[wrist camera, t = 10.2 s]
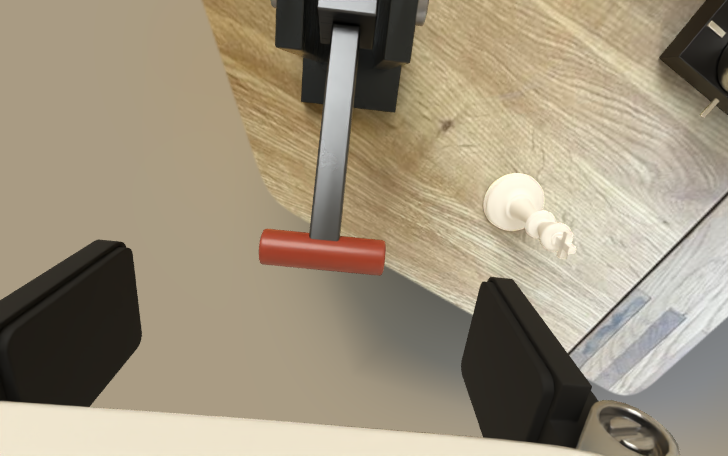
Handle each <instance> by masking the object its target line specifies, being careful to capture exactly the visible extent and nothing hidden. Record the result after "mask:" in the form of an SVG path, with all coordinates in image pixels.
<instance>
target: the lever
mask: <svg viewBox="0 0 728 456" xmlns="http://www.w3.org/2000/svg"><path fill="white" fill-rule="evenodd" d="M378 3H379V0H317V7H316V8H317V17H318V26H319V35H320V42H321V43H322V44H330V47H329V56H328V66H327V75H326V84H325V94H324V103H323V112H322V122H321V131H320V140H319V149H318V159H317V168H316V177H315V187H314V196H313V205H312V215H311V224H310V233H305V232H294V231H284V230H275V229H265V230H264V231H263V233H262V235H261V239H260V244H259V260H260V263H261V264H265V265H275V266H285V267H297V268H307V269H318V270H328V271H338V272H348V273H360V274H369V275H382V273H383V269H384V263H385V252H386V245H385V241H383V240H375V239H365V238H355V237H345V236H340V232H341V222H342V213H343V203H344V193H345V183H346V173H347V163H348V154H349V144H350V134H351V124H352V114H353V104H354V95H355V85H356V75H357V65H358V55H359V48H363V49H372V48H373V42H374V35H375V28H376V21H377V13H378Z"/></svg>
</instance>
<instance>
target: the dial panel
mask: <svg viewBox="0 0 728 456" xmlns="http://www.w3.org/2000/svg"><path fill="white" fill-rule="evenodd" d="M727 45H728V0H706V1H705V2H704V4H703V5H702V6H701V7H700V9H699V10H698V11H697V12H696V13H695V15H694V16H693V17H692V18H691V19H690V21H689V22H688V23H687V24H686V26H685V27H684V28H683V29H682V30H681V32H680V33H679V34H678V35H677V36H676V38H675V39H674V40H673V41H672V43H671V44H670V45H669V46H668V47H667V49H666V50H665V51H664V52H663V54H662V55H661V56H660V57H659V58H660V59H661V60H662V61H663V62H664V63H666V64H667V65H668V66H669V67H670V68H672V69H673V70H674V71H675V72H676V73H678V74H679V75H680V76H681V77H682V78H684V79H685V80H686V81H687V82H689V83H690V84H691V85H692V86H693V87H695V88H696V89H697V90H698V91H699V92H701V93H702V94H703V95H704V96H705V97H707V98H708V99H709V100H710V101H711V103H710V104H709V105H708V106H707V107H706V108H705V110H704V111H703V112H702V113H701V114H700V116H701V117H702V118H705V117H706V116H707V115H708V113H709V112H710V111H711V110H712V109H713V108H714V107H715V106H717V107H719V108H720V109H721V110H722V111H723V112H725V113H726V114H727V115H728V92H727V91H725V90H724V89H723V88H722V86H721V84H720V82H719V79H718V64H719V60H720V57H721V55H722V53H723V51H724V49H725V48H726V46H727Z"/></svg>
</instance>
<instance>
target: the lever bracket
mask: <svg viewBox="0 0 728 456" xmlns="http://www.w3.org/2000/svg"><path fill="white" fill-rule="evenodd" d="M271 4H272V6H273V7H274V8H276V33H275V46H276V47H277V48H280V49H282V50H285V51H288V52H291V53H293V54H296V55H299V56H302V57H303V73H302V93H301V102H308V103H317V104H323V103H324V94H325V84H326V75H327V66H328V56H329V47H330V44H322V43H321V42H320V35H319V26H318V17H317V8H316V7H317V0H271ZM428 4H429V0H379V3H378V13H377V21H376V28H375V35H374V42H373V48H372V49H363V48H359V55H358V65H357V75H356V85H355V95H354V104H353V108H361V109H369V110H378V111H387V112H395V110H396V102H397V95H398V87H399V79H400V72H401V65H405V64H408V63H410V60H411V53H412V46H413V39H414V32H415V25H416V26H423V24H424V22H425V19H426V15H427V10H428Z"/></svg>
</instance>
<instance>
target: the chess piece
mask: <svg viewBox="0 0 728 456" xmlns="http://www.w3.org/2000/svg"><path fill="white" fill-rule="evenodd" d="M544 203H545V197H544V192H543V189H542V188H541V186H540V185H539V183H538V182H537V181H536V180H535V179H534V178H532V177H531V176H529V175H526V174H522V173H511V174H507V175H505V176H502V177H500V178H499V179H497V180H496V181H495V182H494V183H493V184H492V185H491V186H490V187H489V189H488V190H487V192H486V194H485V197H484V202H483V208H484V213H485V215H486V217H487V219H488V220H489V221H490V222H491V223H492V224H493V225H495V226H496V227H498V228H500V229H502V230H506V231H517V230H521V229H524V228H525V229H526V232H527V234H528V235H529V236H530V237H532V238H535V239H539V240H540V243H541V245H542V246H543V248H544V249H546V250H548V251H551V252H556V251H558V252H557V256H558V257H559V258H561V259H567V256H568V254H575V251H576V248H577V247H575V246H574V245H573V244H571V243H572V240H573V237H574V233H572V232H571V229H570V228H569V227H568V226H567V225H566V224H563V223H559V222H556V219H555V217H554V215H553V214H552V213H551V212H549V211H545V210H543V207H544Z"/></svg>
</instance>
